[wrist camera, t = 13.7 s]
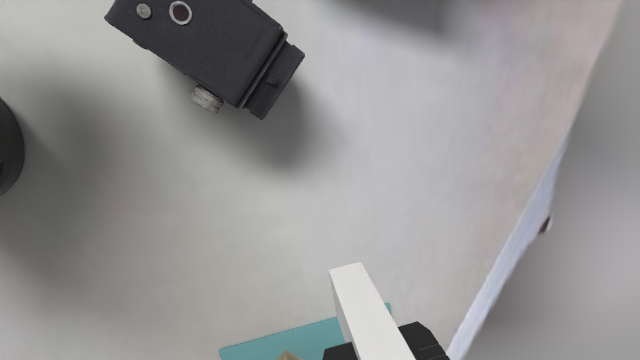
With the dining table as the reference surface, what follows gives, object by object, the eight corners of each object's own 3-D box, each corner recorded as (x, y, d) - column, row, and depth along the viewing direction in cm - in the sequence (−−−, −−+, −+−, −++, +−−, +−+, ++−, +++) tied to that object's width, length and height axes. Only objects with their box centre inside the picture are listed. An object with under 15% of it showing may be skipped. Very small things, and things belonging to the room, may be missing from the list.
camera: (143, 52, 34) (262, 129, 37) (72, 27, 23) (250, 140, 26) (191, -38, 32) (312, 50, 35) (140, -112, 21) (321, 26, 24)
